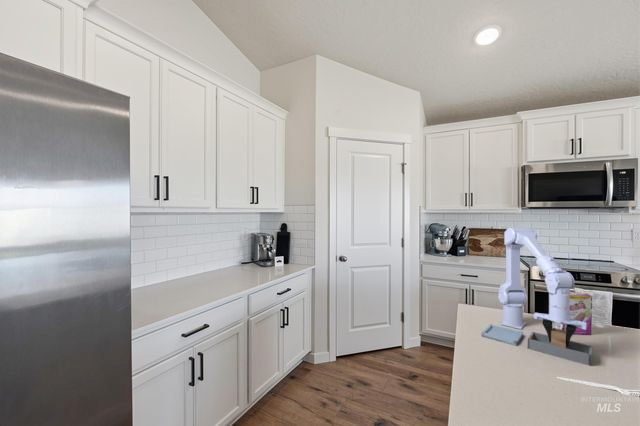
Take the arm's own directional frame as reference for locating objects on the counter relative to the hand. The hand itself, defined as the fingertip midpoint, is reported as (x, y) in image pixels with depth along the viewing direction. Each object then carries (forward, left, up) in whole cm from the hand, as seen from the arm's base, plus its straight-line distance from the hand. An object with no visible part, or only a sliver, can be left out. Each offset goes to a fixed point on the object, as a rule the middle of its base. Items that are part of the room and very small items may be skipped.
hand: (559, 343), depth 105 cm
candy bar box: (-26, +2, -3) cm, 26 cm away
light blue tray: (-1, -18, -3) cm, 18 cm away
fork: (+18, +11, -4) cm, 22 cm away
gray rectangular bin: (0, 0, -3) cm, 3 cm away
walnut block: (0, 0, -1) cm, 1 cm away
